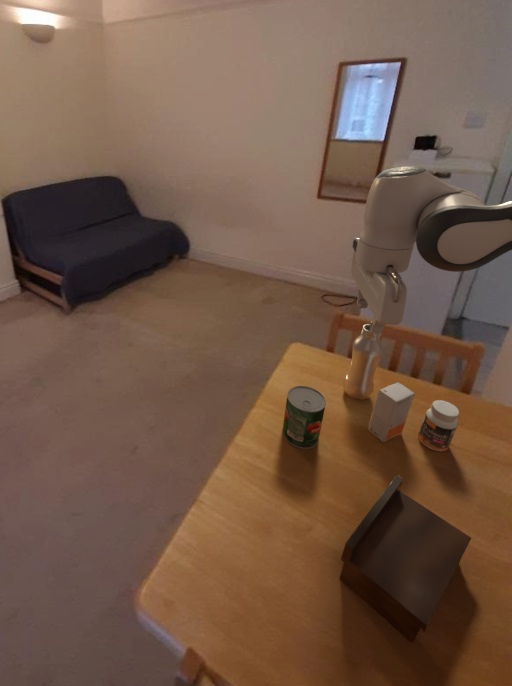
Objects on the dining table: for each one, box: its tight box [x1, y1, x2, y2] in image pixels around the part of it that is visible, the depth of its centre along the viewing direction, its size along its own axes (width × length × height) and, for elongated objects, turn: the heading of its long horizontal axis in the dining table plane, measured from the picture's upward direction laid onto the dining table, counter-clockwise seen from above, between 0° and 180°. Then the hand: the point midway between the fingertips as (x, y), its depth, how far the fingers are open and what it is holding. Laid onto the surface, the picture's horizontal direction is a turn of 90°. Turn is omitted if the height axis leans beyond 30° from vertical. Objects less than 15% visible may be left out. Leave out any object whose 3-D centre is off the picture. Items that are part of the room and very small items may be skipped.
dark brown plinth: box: [339, 475, 472, 644], centre depth 65 cm, size 12×18×9 cm, turn 129°
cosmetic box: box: [367, 381, 416, 443], centre depth 89 cm, size 6×4×12 cm
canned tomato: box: [281, 385, 327, 450], centre depth 89 cm, size 8×8×11 cm
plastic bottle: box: [343, 323, 385, 401], centre depth 98 cm, size 6×7×20 cm
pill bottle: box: [418, 399, 460, 452], centre depth 86 cm, size 6×6×10 cm
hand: (368, 318), depth 81 cm, fingers open, 8 cm apart
